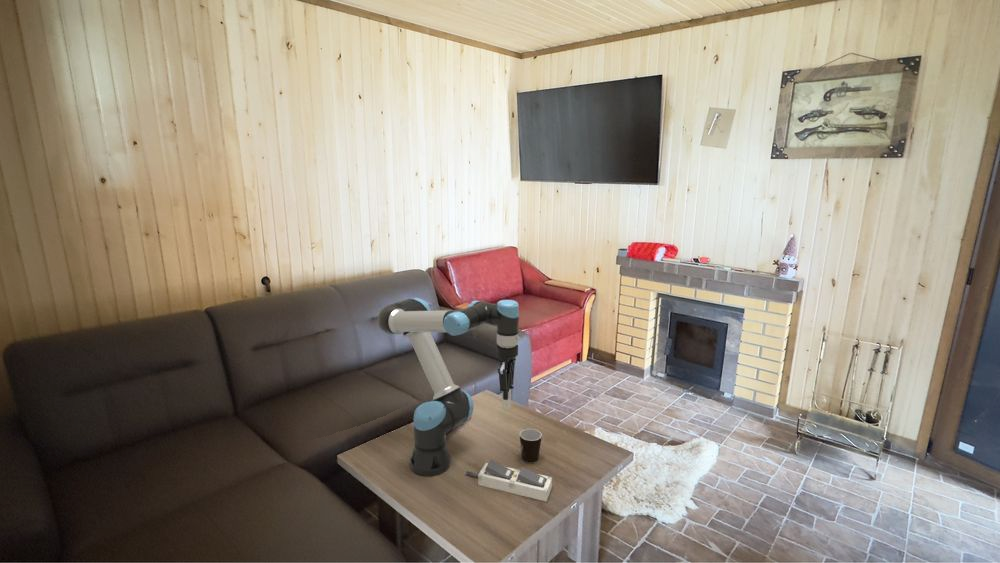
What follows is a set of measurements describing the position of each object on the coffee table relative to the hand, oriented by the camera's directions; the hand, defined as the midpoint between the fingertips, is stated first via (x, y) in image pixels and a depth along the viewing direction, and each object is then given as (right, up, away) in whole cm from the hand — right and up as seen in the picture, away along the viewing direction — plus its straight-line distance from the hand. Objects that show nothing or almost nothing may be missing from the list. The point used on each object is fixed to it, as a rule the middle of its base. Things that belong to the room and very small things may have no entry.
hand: (506, 406), depth 169 cm
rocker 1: (-3, -23, -2) cm, 23 cm away
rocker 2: (+9, -24, -5) cm, 26 cm away
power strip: (0, -27, -1) cm, 27 cm away
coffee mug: (+10, -24, +16) cm, 30 cm away
